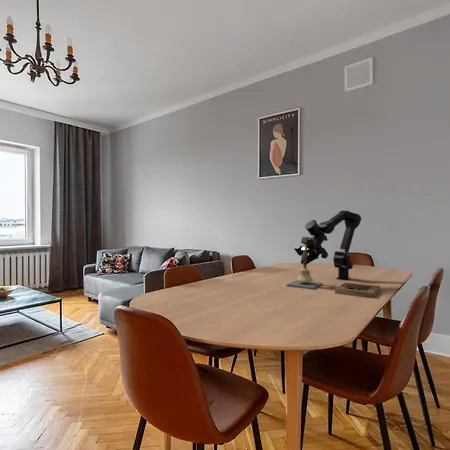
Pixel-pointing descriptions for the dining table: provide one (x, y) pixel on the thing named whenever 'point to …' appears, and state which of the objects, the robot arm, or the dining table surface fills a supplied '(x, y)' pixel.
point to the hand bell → (305, 270)
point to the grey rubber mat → (304, 284)
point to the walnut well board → (345, 290)
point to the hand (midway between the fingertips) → (303, 263)
